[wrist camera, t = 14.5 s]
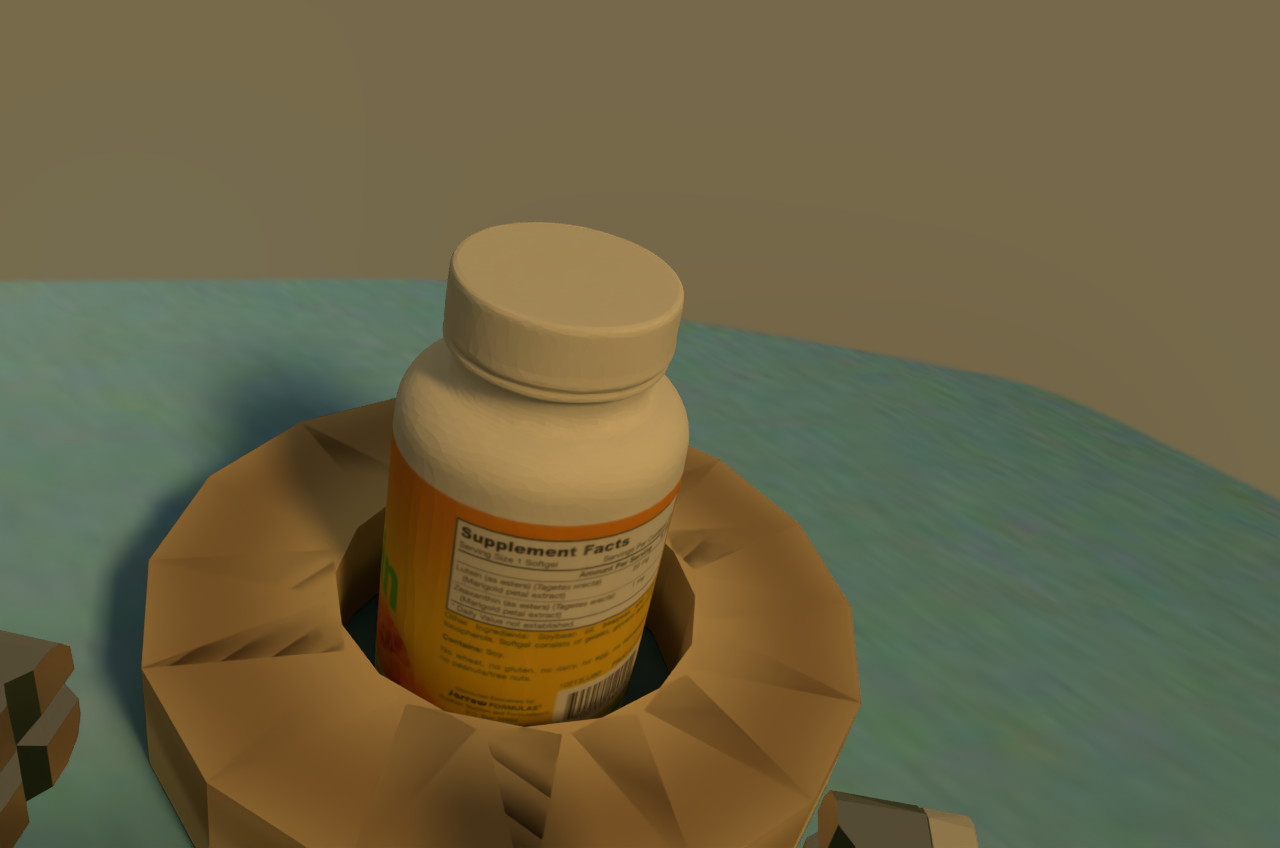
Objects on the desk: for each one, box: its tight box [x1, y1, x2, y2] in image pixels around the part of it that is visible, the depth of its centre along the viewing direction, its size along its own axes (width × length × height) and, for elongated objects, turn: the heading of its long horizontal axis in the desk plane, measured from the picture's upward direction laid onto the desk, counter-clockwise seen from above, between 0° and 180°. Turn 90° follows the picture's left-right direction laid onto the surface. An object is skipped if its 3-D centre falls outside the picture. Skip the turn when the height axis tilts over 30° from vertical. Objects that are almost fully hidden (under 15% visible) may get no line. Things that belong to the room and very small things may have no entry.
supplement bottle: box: [375, 222, 689, 727], centre depth 21 cm, size 5×5×10 cm
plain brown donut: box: [141, 398, 861, 848], centre depth 23 cm, size 14×14×2 cm
